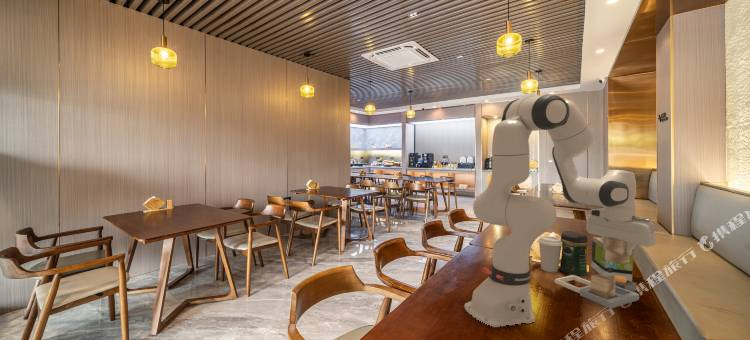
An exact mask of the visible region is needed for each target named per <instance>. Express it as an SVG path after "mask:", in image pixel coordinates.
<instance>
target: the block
mask: <svg viewBox="0 0 750 340" xmlns="http://www.w3.org/2000/svg"><path fill="white" fill-rule="evenodd" d="M629 247H630V246H628V242H624V241H620V240H616V239H612V238H608V237H607V238H606V250H605V259H606V260H610V261H613V262H616V263H620V264H622V263H627V262H629V259H630V255H626V254H624V249H628V248H629Z"/></svg>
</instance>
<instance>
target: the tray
mask: <svg viewBox="0 0 750 340" xmlns="http://www.w3.org/2000/svg"><path fill="white" fill-rule="evenodd" d="M569 281H570V282H571V281H576V282H578V283H580V284H584V285H585V286H582V287H581V286H580V287H578V286H575V285H573V284H571V283H568V282H569ZM554 284H557V285H559V286H562V287H564V288H565V289H568V290H570V291H573V292H575V293H578V294H580V290H582V289H586V288H590V287H591V280H588V279H586V278H582V277H581V276H575V275H571V274H570V275H567V276H562V277H558V278H554Z"/></svg>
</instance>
